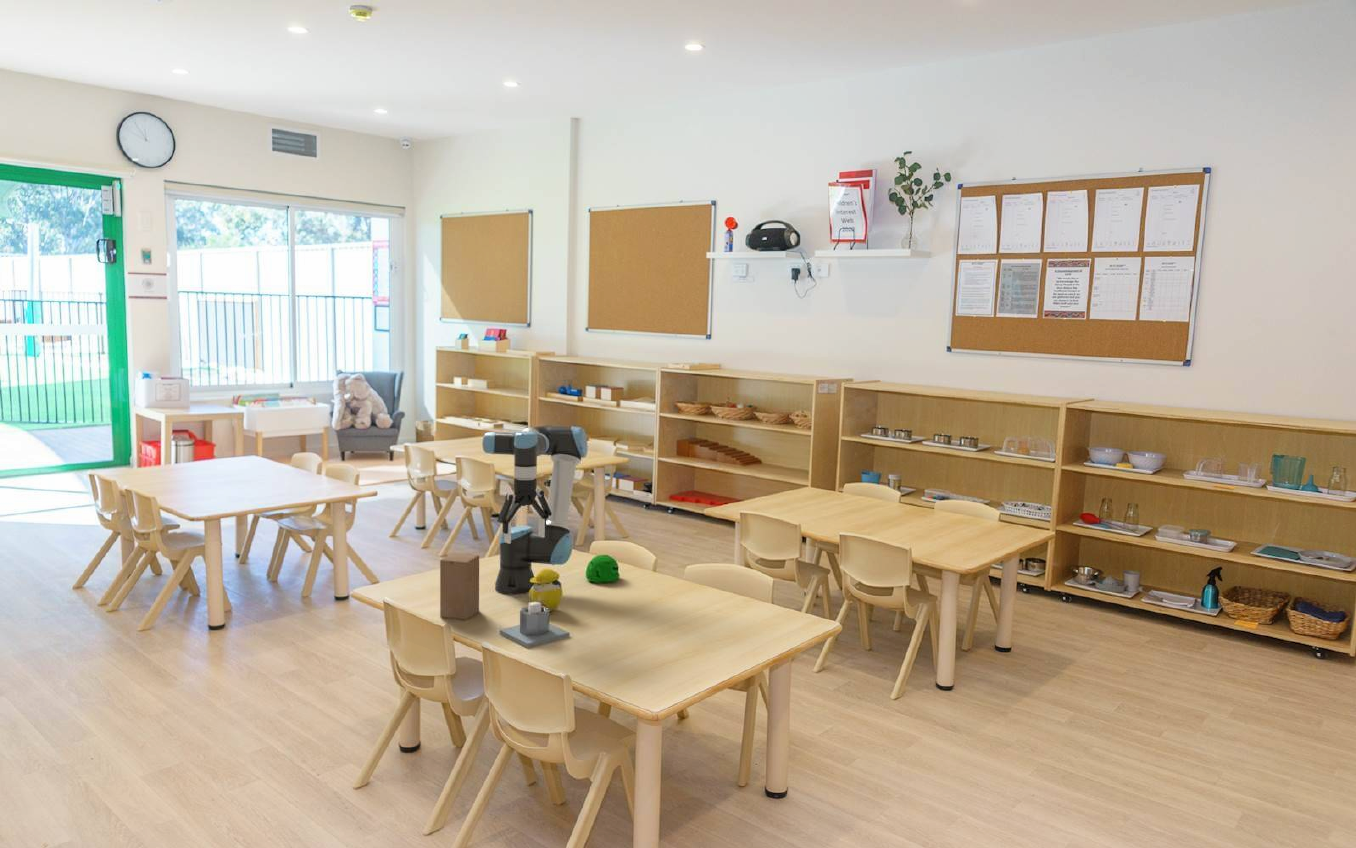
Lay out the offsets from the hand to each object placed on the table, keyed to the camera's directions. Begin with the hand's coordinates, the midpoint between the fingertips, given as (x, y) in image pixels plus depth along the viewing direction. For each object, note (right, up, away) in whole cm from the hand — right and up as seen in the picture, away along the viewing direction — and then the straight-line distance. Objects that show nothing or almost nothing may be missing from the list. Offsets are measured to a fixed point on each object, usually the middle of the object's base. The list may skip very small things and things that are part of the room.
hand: (524, 539), depth 309 cm
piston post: (+6, -29, -15) cm, 33 cm away
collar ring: (+6, -27, -15) cm, 32 cm away
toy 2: (+22, -22, +48) cm, 58 cm away
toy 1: (+6, -26, +9) cm, 28 cm away
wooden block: (-23, -26, +3) cm, 35 cm away
